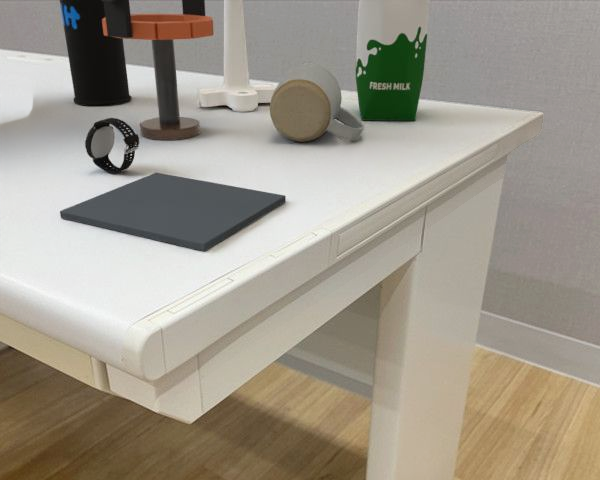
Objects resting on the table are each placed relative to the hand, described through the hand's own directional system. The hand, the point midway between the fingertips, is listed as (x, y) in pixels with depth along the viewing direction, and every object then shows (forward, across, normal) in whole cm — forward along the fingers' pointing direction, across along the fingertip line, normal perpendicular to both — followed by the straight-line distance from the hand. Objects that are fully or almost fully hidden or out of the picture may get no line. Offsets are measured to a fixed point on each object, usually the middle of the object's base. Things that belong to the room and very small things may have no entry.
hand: (160, 32), depth 71 cm
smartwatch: (+11, -15, -6) cm, 20 cm away
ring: (0, 0, 0) cm, 0 cm away
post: (+11, 0, 0) cm, 11 cm away
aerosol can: (+12, +11, +21) cm, 26 cm away
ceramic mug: (+11, +7, -16) cm, 21 cm away
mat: (+11, -21, -17) cm, 29 cm away
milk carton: (+11, +22, -19) cm, 31 cm away
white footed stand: (+11, +17, +1) cm, 21 cm away
